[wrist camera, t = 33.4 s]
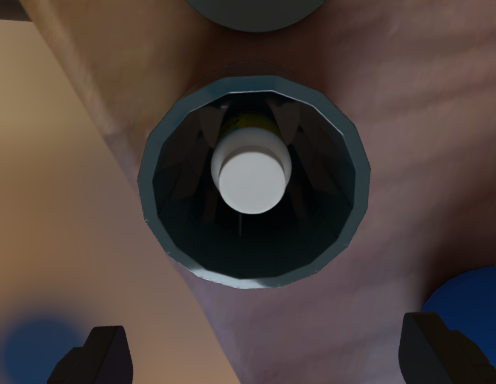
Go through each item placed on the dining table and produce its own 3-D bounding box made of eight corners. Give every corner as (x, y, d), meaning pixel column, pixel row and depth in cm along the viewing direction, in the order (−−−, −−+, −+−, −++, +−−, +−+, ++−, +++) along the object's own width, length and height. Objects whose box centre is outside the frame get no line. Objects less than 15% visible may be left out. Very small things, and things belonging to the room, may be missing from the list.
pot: (185, 212, 33) (157, 293, 23) (166, 65, 28) (119, 82, 18) (323, 205, 33) (361, 284, 22) (328, 57, 28) (379, 68, 18)
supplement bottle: (264, 182, 32) (272, 238, 23) (207, 156, 31) (192, 205, 22) (293, 126, 30) (314, 163, 21) (233, 97, 29) (228, 124, 20)
